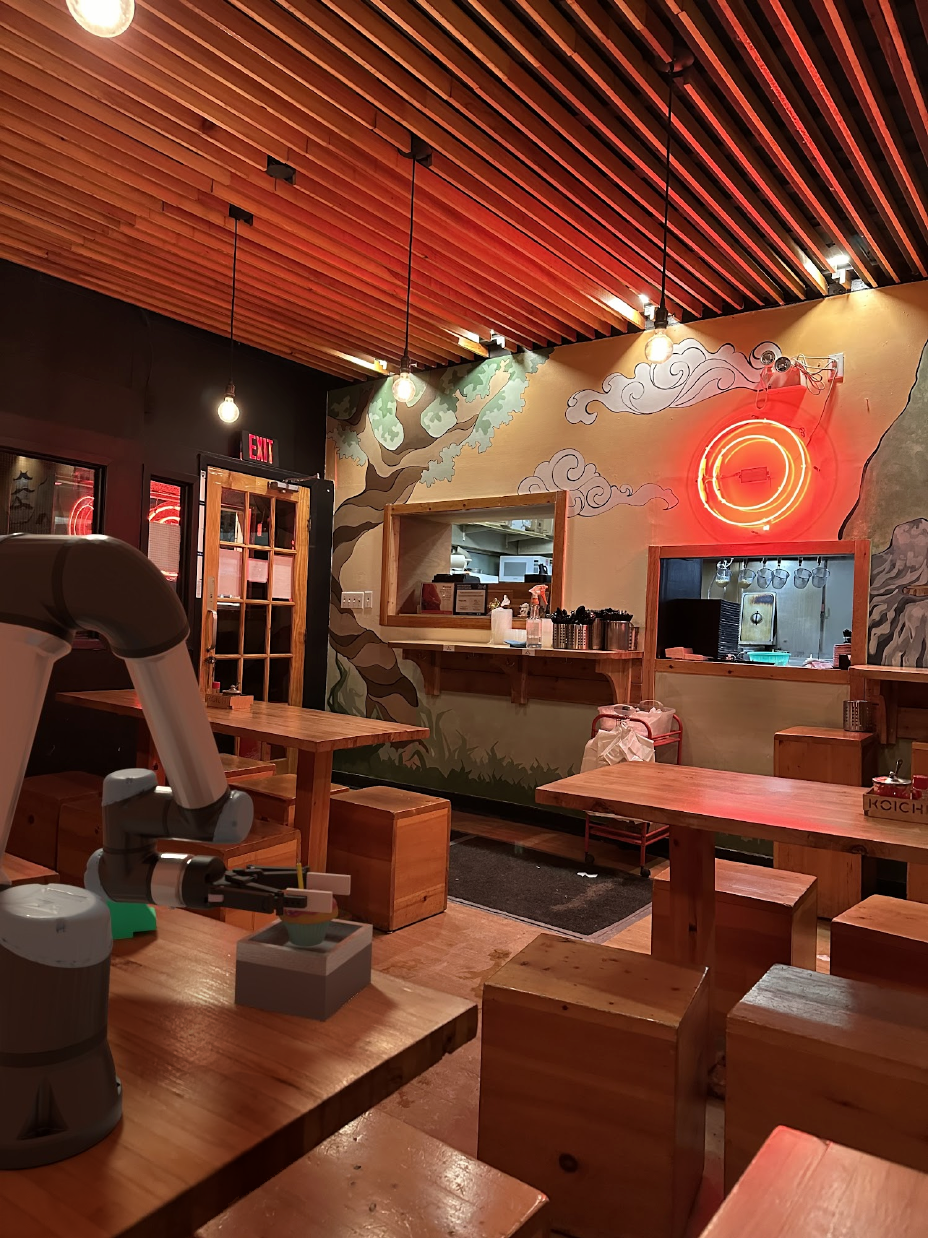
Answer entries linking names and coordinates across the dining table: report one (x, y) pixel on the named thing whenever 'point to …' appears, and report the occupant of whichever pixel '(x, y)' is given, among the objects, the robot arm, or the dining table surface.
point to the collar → (264, 953)
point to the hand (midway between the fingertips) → (340, 893)
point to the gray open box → (302, 984)
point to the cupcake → (307, 921)
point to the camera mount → (130, 918)
